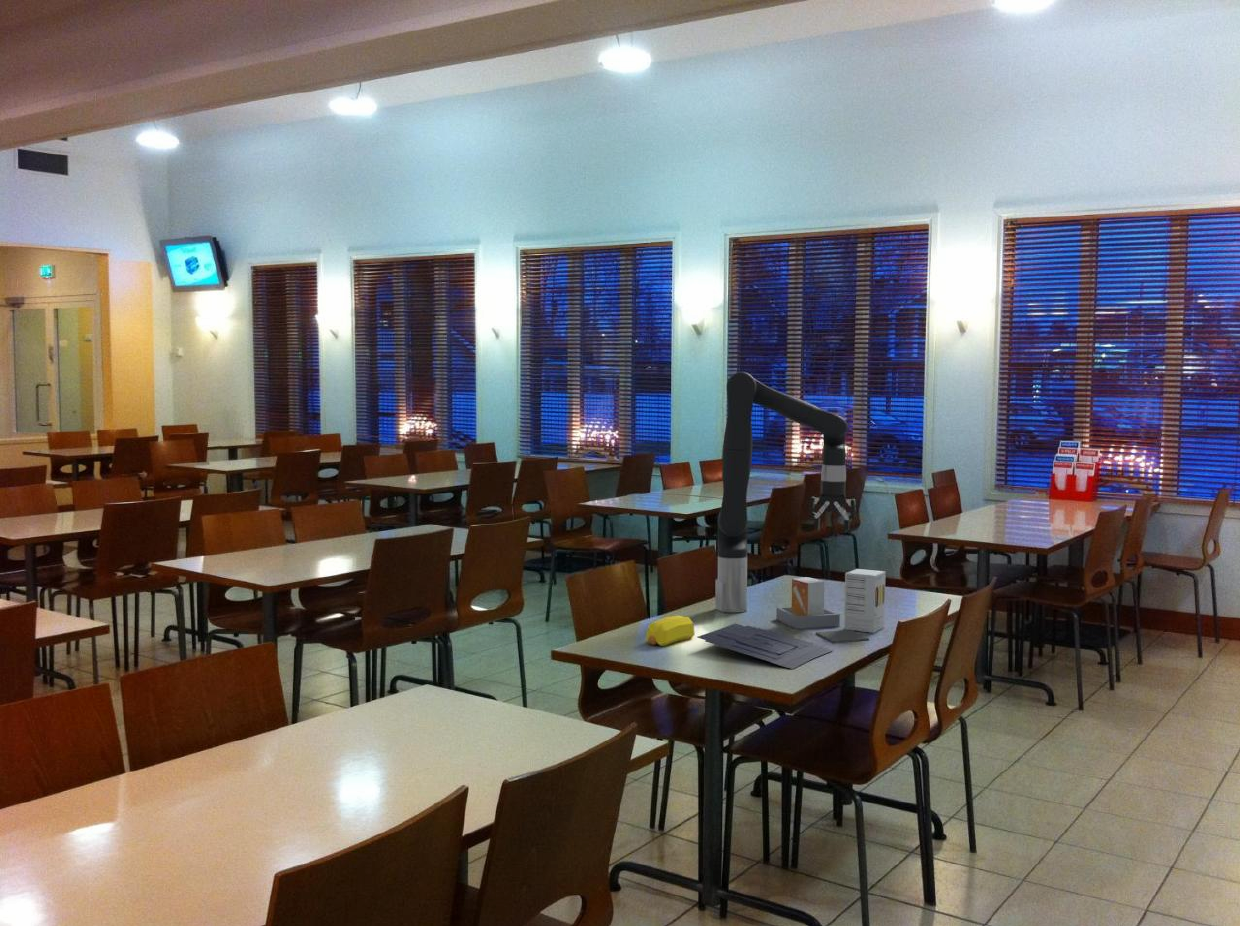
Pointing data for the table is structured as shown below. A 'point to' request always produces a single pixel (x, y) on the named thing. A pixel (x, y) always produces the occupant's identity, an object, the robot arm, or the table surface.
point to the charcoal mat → (842, 636)
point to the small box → (807, 596)
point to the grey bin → (807, 619)
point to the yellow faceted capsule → (669, 630)
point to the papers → (765, 645)
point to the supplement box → (864, 600)
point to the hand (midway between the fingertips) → (831, 531)
